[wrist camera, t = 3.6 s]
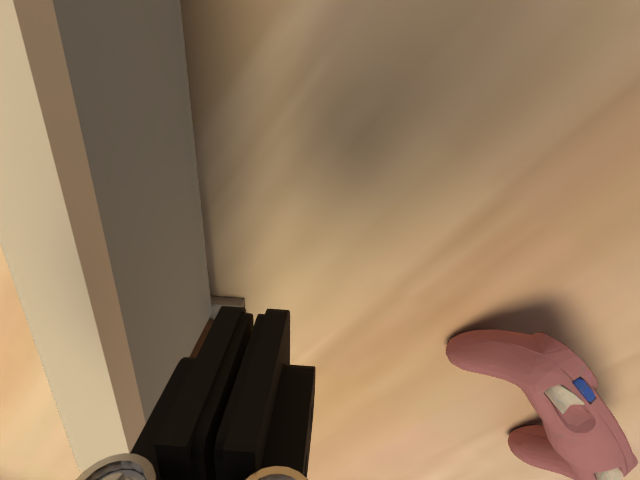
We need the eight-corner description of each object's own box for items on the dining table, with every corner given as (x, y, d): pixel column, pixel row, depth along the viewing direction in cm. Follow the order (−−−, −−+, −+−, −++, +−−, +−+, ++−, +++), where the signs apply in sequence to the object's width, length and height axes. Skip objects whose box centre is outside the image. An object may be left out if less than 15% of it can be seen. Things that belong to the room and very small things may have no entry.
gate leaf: (123, -88, 15) (-163, -225, 7) (178, -88, 15) (-45, -224, 7) (180, 310, 23) (78, 470, 15) (216, 312, 23) (134, 476, 15)
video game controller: (558, 401, 27) (675, 480, 21) (506, 450, 27) (610, 546, 20) (492, 290, 24) (607, 341, 18) (432, 343, 24) (527, 416, 17)
